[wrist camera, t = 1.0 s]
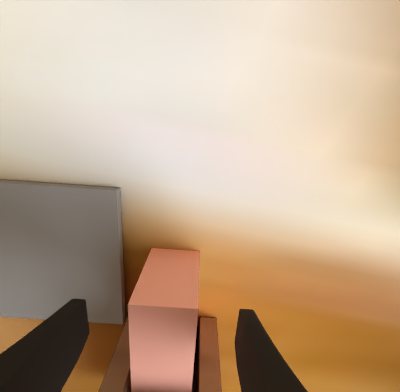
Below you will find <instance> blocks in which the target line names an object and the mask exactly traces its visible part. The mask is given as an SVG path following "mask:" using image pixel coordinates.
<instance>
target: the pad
mask: <svg viewBox="0 0 400 392" xmlns="http://www.w3.org/2000/svg"><path fill="white" fill-rule="evenodd" d="M71 299H86V307H87V316H88V322H91V323H107V324H123V323H124V321H125V318H126V310H125V287H124V264H123V241H122V217H121V194H120V188H115V187H101V186H86V185H72V184H57V183H42V182H28V181H13V180H0V317H11V318H27V319H43V320H46V319H47V318H49V317H50V316H51V315H52V314H54V313H55V312H56V311H57V310H59V309H60V308H61V307H62V306H64V305H65V304H66V303H67V302H69V301H70V300H71Z"/></svg>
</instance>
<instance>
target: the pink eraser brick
mask: <svg viewBox="0 0 400 392" xmlns="http://www.w3.org/2000/svg"><path fill="white" fill-rule="evenodd" d="M199 266H200V251H191V250H176V249H161V248H151V251H150V253H149V255H148V258H147V260H146V263H145V265H144V267H143V270H142V272H141V274H140V277H139V279H138V282H137V284H136V286H135V289H134V291H133V293H132V296H131V298H130V301H129V303H128V320H129V346H130V371H131V392H192V381H193V368H194V356H195V344H196V332H197V320H198V304H199Z"/></svg>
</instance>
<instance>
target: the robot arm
mask: <svg viewBox="0 0 400 392" xmlns="http://www.w3.org/2000/svg"><path fill="white" fill-rule="evenodd" d="M88 335H89V324H88V316H87V307H86V299H71V300H70V301H69V302H67V303H66V304H65V305H64V306H62V307H61V308H60V309H59V310H57V311H56V312H55V313H54V314H52V315H51V316H50V317H49V318H47V319H46V320H45V321H44V322H42V323H41V324H40V325H39V326H37V327H36V328H35V329H33V330H32V331H31V332H30V333H28V334H27V335H26V336H24V337H23V338H22V339H20V340H19V341H18V342H16V343H15V344H14V345H12V346H11V347H10V348H8V349H7V350H5V351H4V352H3V353H1V354H0V392H61V390H62V388H63V386H64V385H65V383H66V381H67V379H68V377H69V375H70V374H71V372H72V370H73V368H74V366H75V364H76V362H77V361H78V359H79V357H80V354H81V352H82V350H83V347H84V345H85V343H86V340H87V338H88ZM235 351H236V362H237V370H238V375H239V380H240V386H241V391H242V392H308V391H307V390H306V389H305V388H304V386H303V385H302V384H301V382H300V381H299V380H298V378H297V377H296V376H295V374H294V373H293V371H292V370H291V369H290V367H289V366H288V364H287V363H286V362H285V360H284V359H283V357H282V356H281V354H280V353H279V351H278V350H277V348H276V347H275V345H274V344H273V342H272V340H271V339H270V337H269V336H268V334H267V332H266V331H265V329H264V327H263V326H262V324H261V322H260V321H259V319H258V317H257V315H256V313H255V312H254V311H253V310H249V309H240V311H239V317H238V323H237V330H236V336H235Z"/></svg>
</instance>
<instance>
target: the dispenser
mask: <svg viewBox="0 0 400 392" xmlns="http://www.w3.org/2000/svg"><path fill="white" fill-rule="evenodd" d="M99 392H131V371H130V346H129V320H128V318H127V321H126V323H125V326H124V328H123V331H122V333H121V336H120V338H119V341H118V344H117V346H116V349H115V351H114V354H113V356H112V359H111V361H110V364H109V367H108V369H107V372H106V374H105V377H104V379H103V382H102V384H101V387H100V389H99ZM192 392H222V388H221V374H220V360H219V346H218V332H217V318H208V317H200V326H199V338H198V349H197V361H196V372H195V375H194V374H193V381H192Z"/></svg>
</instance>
